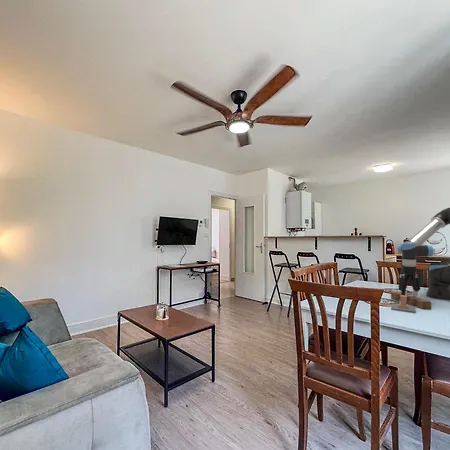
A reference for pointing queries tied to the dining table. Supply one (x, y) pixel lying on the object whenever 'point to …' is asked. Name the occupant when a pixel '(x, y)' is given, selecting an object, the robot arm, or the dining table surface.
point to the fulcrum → (403, 306)
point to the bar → (413, 301)
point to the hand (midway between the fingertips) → (409, 300)
